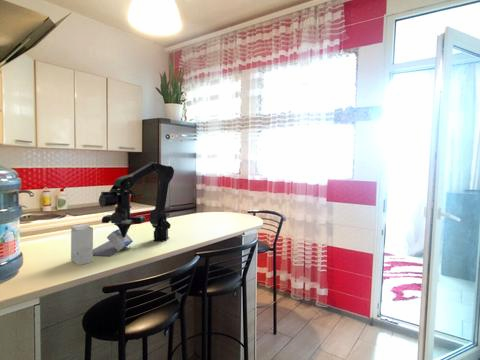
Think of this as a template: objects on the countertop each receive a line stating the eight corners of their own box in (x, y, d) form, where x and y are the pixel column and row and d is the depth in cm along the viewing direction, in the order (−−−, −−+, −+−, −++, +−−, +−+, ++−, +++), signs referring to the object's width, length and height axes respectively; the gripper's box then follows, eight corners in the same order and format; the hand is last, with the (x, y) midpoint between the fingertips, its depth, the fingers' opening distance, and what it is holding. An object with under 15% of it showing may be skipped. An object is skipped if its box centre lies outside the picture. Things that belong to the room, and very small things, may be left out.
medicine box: (124, 246, 131) (112, 231, 131) (118, 251, 131) (106, 237, 132) (133, 241, 138) (122, 227, 139) (127, 246, 139) (115, 233, 139)
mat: (131, 243, 145) (131, 242, 145) (109, 256, 125) (109, 255, 125) (108, 242, 146) (108, 241, 146) (83, 255, 126) (83, 254, 126)
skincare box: (70, 261, 119) (69, 226, 118) (86, 257, 124) (84, 223, 123) (78, 266, 114) (77, 229, 113) (94, 261, 118) (93, 226, 117)
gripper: (94, 206, 126) (95, 241, 127) (135, 207, 125) (135, 242, 126) (107, 203, 137) (108, 235, 138) (145, 203, 136) (146, 236, 137)
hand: (124, 237), depth 134 cm, fingers closed
